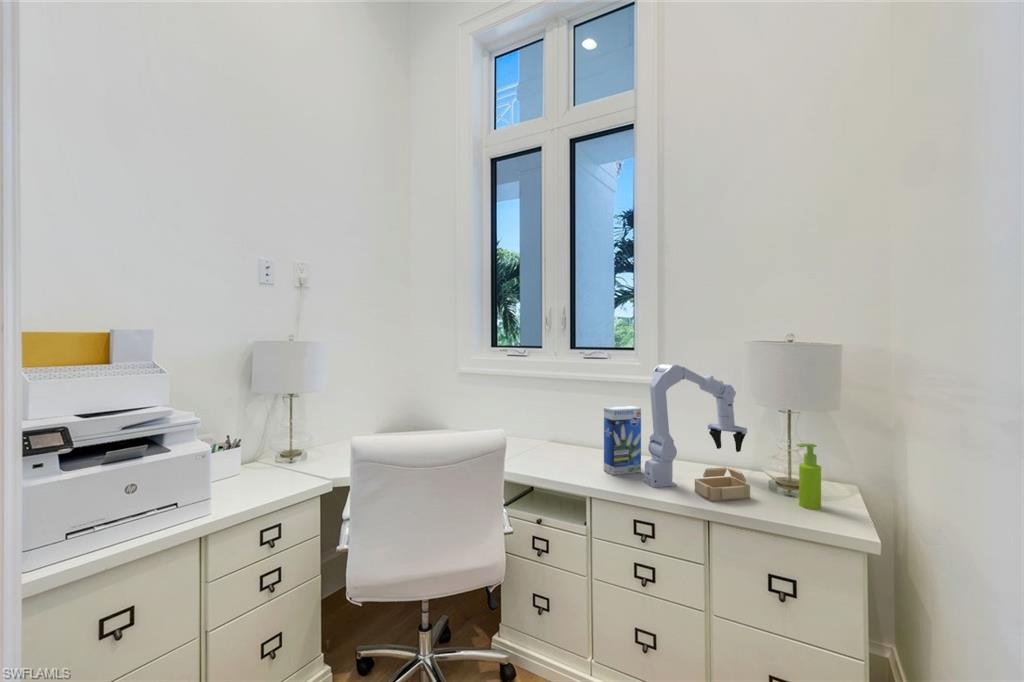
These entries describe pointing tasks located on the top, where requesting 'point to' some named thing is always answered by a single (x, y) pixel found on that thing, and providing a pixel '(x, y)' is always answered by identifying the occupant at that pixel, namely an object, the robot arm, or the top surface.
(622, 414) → the string lights box
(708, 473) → the flap long
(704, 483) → the carton
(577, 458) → the top surface
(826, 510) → the top surface
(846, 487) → the top surface
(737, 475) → the flap short
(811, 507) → the soap dispenser
